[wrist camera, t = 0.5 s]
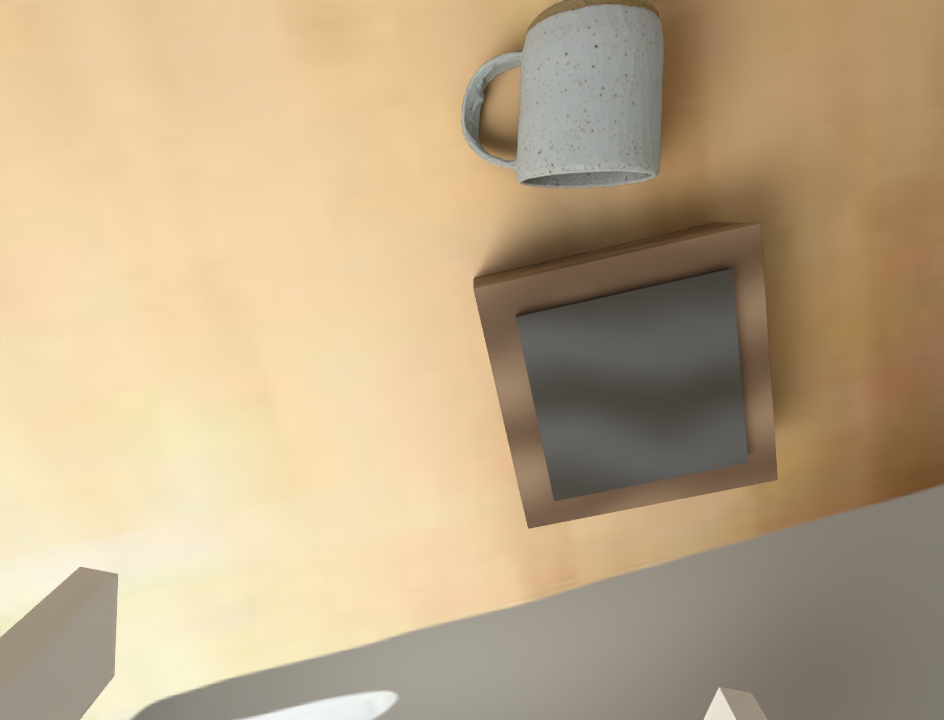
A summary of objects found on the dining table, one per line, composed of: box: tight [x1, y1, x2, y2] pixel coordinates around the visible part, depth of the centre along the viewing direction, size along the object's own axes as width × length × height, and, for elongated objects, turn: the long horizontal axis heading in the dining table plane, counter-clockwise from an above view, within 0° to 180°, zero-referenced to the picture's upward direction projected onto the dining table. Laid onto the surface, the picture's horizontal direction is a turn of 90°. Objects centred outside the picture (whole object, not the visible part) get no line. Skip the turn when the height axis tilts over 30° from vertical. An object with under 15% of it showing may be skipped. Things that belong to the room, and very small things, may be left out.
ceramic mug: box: [462, 0, 664, 188], centre depth 26 cm, size 11×8×8 cm
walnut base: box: [474, 223, 778, 529], centre depth 31 cm, size 16×16×6 cm
